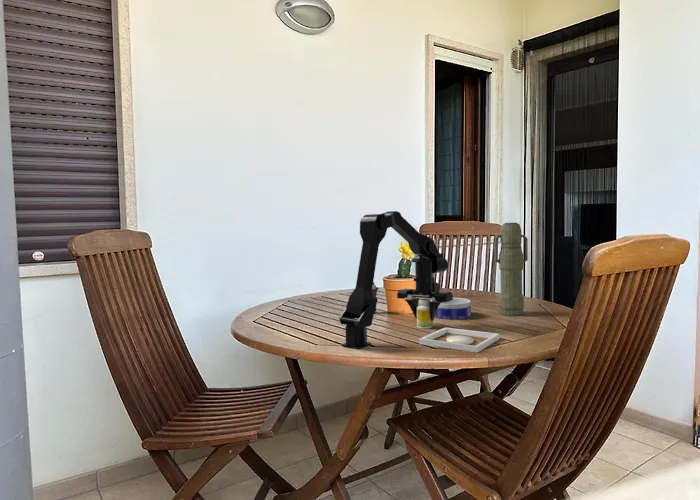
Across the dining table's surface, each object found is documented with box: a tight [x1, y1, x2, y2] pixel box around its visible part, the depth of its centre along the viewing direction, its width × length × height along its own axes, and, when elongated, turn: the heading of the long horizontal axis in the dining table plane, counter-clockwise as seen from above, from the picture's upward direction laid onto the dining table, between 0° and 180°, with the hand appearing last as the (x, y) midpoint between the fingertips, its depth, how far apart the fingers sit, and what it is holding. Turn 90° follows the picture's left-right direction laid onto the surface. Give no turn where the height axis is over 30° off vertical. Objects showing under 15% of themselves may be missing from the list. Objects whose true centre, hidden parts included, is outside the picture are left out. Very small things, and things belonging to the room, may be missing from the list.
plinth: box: [445, 335, 475, 345], centre depth 142 cm, size 8×8×1 cm
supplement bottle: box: [416, 298, 434, 330], centre depth 162 cm, size 5×5×10 cm
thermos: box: [494, 222, 529, 317], centre depth 181 cm, size 9×12×35 cm
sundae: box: [372, 281, 380, 315], centre depth 191 cm, size 7×7×15 cm
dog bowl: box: [430, 297, 472, 321], centre depth 182 cm, size 15×15×6 cm
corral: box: [418, 327, 501, 353], centre depth 142 cm, size 18×18×2 cm
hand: (424, 320), depth 162 cm, fingers closed on supplement bottle, 5 cm apart
